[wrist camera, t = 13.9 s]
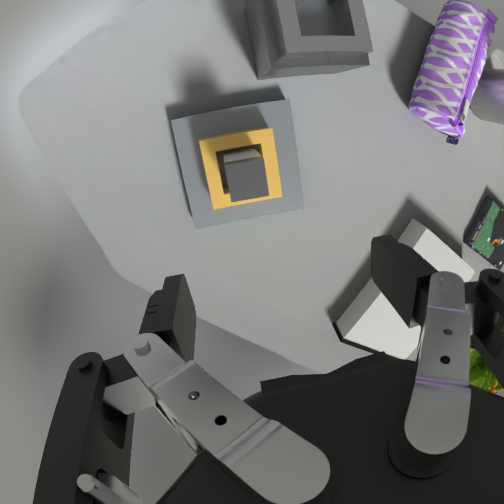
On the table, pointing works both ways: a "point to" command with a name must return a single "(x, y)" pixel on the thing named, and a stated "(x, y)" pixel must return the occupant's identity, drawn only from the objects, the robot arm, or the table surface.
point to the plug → (245, 174)
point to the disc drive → (382, 312)
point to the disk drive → (488, 233)
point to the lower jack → (235, 138)
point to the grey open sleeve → (307, 36)
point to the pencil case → (452, 67)
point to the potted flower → (482, 373)
